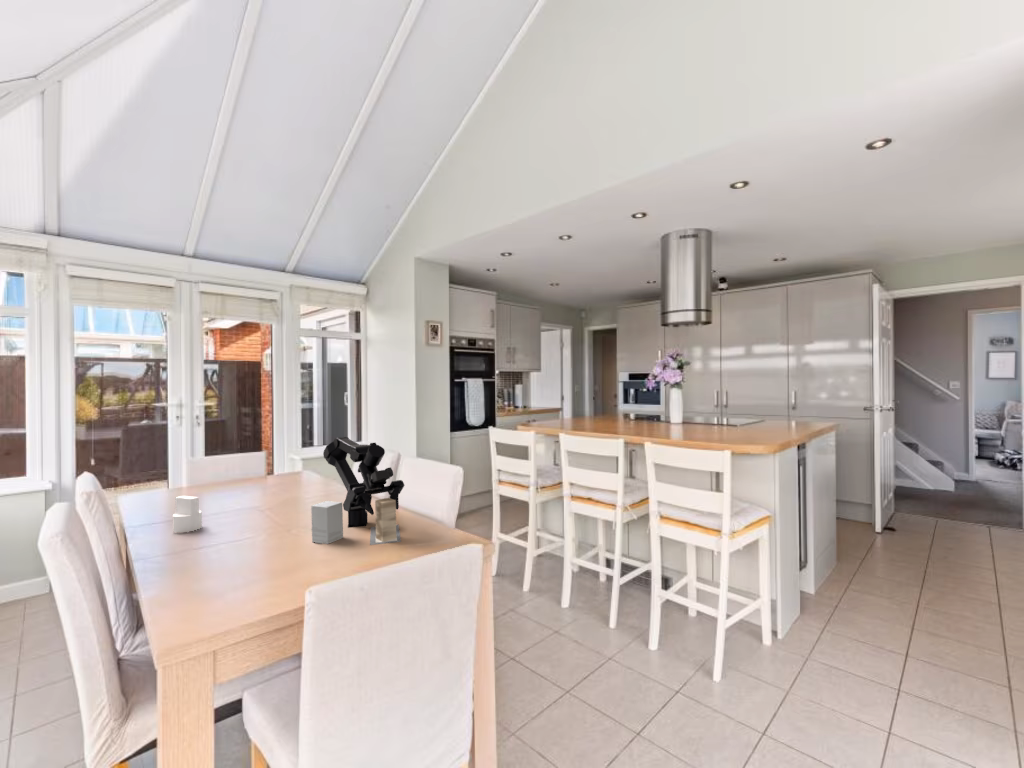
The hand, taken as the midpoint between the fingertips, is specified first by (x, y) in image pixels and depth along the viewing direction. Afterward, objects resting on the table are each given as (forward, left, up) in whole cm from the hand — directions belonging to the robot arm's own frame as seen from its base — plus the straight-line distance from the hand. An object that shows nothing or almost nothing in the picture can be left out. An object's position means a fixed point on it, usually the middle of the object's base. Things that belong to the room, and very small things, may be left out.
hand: (385, 511), depth 163 cm
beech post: (0, 0, -9) cm, 9 cm away
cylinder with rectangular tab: (-71, +35, -10) cm, 80 cm away
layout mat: (0, +5, -10) cm, 11 cm away
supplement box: (-19, +5, -10) cm, 22 cm away
